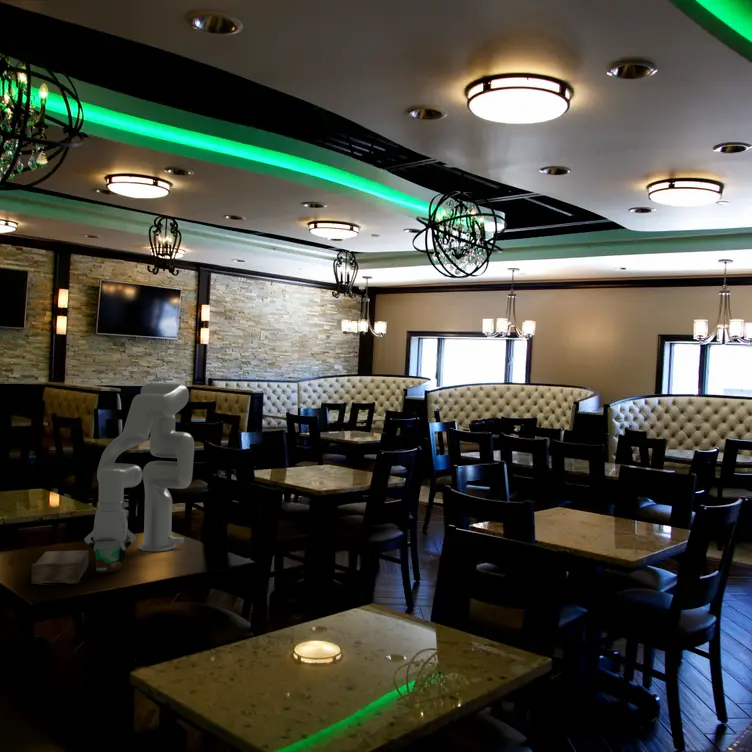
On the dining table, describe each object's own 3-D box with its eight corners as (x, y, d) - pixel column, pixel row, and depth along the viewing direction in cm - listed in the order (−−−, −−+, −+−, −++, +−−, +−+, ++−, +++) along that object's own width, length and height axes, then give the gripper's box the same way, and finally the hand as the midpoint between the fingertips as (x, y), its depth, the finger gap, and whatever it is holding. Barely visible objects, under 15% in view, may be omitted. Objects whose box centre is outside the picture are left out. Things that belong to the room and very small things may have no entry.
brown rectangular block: (88, 565, 239) (88, 547, 239) (77, 583, 220) (78, 563, 220) (45, 566, 236) (45, 548, 236) (31, 584, 217) (31, 564, 217)
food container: (112, 575, 227) (112, 543, 227) (93, 574, 228) (93, 542, 228) (131, 564, 239) (131, 534, 239) (114, 563, 240) (114, 533, 240)
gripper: (140, 503, 238) (139, 558, 239) (84, 504, 234) (83, 560, 235) (138, 508, 231) (137, 564, 231) (80, 509, 227) (79, 566, 227)
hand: (110, 561), depth 233 cm, fingers closed on food container, 6 cm apart
